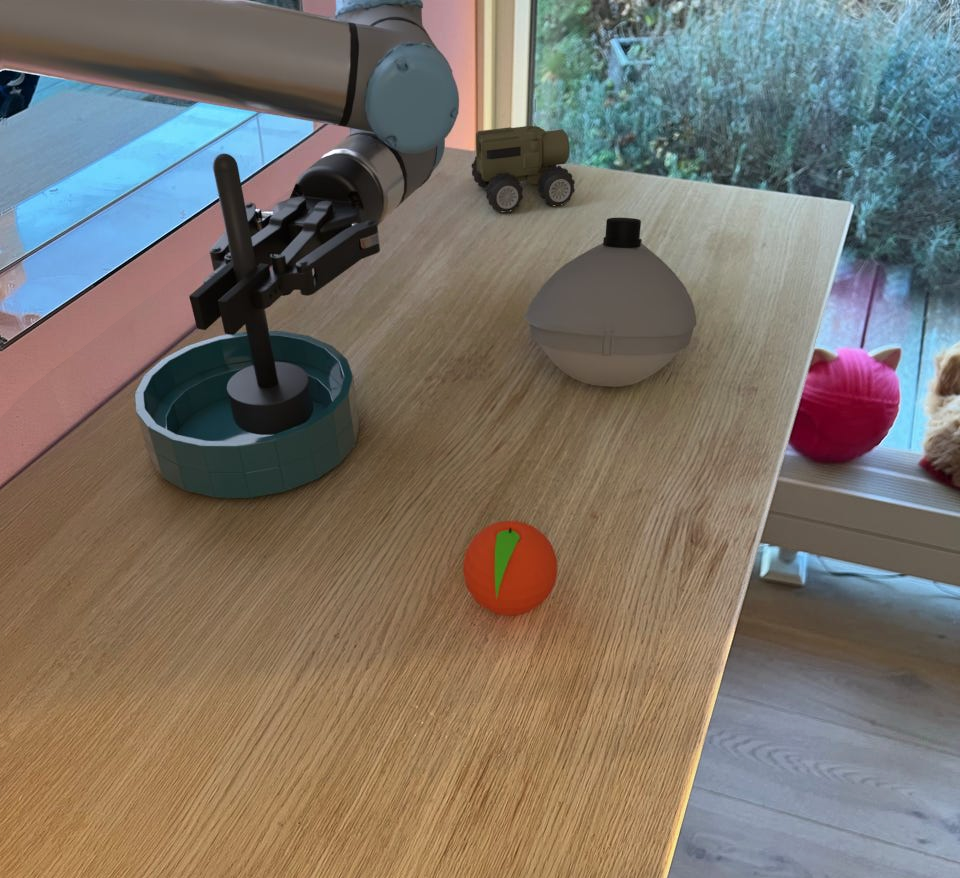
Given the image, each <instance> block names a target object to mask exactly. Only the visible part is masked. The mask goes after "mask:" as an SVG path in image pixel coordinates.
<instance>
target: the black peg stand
mask: <svg viewBox="0 0 960 878" xmlns="http://www.w3.org/2000/svg"><path fill="white" fill-rule="evenodd" d="M212 170H213V175H214V180H215V186H216V189H217V194H218V199H219V204H220V210H221V214H222V220H223V224H224V229H225V232H226V234H227V239H228V244H229V249H230V254H231V259H232V264H233V268H234V273H235V278H236V283H239V282H240V281H241V280H242V279H243V278H244V277H245V276H247V275H248V274H249V273H250V272H251V271H252V270H254V269H255V268H256V267H257V266H256V260H255V255H254V250H253V244H252V239H251V234H250V229H249V223H248V218H247V213H246V207H245V204H246V203H245V202H246V201H245V197H244V193H243V186H242V181H241V176H240V170H239V166H238V163H237V160H236V158H234V157H233V156H232V155H231V154H228V153H224V152H223V153H220V154H217V156H215V157H214V159H213V161H212ZM244 327H245V332H247V337H248V341H249V346H250V351H251V356H252V361H253V365H252V366H249V367H246V368H244V369H242V370H240V371H239V372H237V373H236V374H235V375H233V376H232V377H231V379H230V380H229V382H228V384H227V392H228V397H229V401H230V405H231V410H232V414H233V418H234V421H235V423H236V425H237V426H238V427H239V428H241V429H242V430H244V431H246V432H249V433H253V434H258V435H274V434H277V433H280V432H282V431H285V430H288V429H291V428H293V427H296V426H299V425H302V424H303V423H305V422H307V421H308V420H309V418H310V417H311V415H312V413H313V402H312V396H311V390H310V383H309V378H308V375H307V373H306V372H305V371H304V370H303V369H302V368H300V367H299V366H296V365H294V364H290V363H285V362H275V361H274V356H273V351H272V345H271V340H270V335H269V331H270V329H269V325H268V319H267V315H266V309H261V310H260V311H259V312H258V313H257V314H256V315H254V316H253V317H252V318H251V319H250V320H249V321H248V322H247V323H246V324H245V325H244Z"/></svg>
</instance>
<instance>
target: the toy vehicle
mask: <svg viewBox="0 0 960 878" xmlns="http://www.w3.org/2000/svg"><path fill="white" fill-rule="evenodd" d="M536 105H537V104H536V98H535V99H534V111H537V110H536ZM570 148H571V145H570V140H569V136H568V133H566V131H565V130H564V129H555V130H545V129H544V128H541V127H540V126H537V125H526V126H525V125H524V126H515V127H511V126H509V127H501V128H500V127H499V128H493V129H485V130H484V129H483V130H477V131H476V133H475V149H476V150H475V153H476V154H475V155H476V156H475V157H474V160H473V162H472V163H471V169H472V170H471V177H473V180H474V182H475V183H477V186H479V187H480V188H484V189H485V188H486V189H485V191H486V195H485V197H486V200H488V204H489V205H490V206H491V207H492V209H493V210H494V211H498V212H500V211H510V210H512V211H513V210H515V209H516V208H518V207H519V206H520V203H521V201H522V200H523V198H524V196H523V191H524V188H523V186H521V182H527V184H529V185H538V188H537V190H538V193H539V194H540V198H541V200H544V203H545V204H548V203H549V204H548V205H557V206H560V205H561V204H563V205H564V204H566V203H567V202H569V201H570V200H571V199H572V196H573V194H574V193H575V184H576V181H575V179H573V175H572V173H571V172H569V170H568V169H567V168H563V167H562V166H561V165H566V164H567V161H568V160H569V158H570V154H571V153H570V152H571V150H570ZM481 186H482V187H481Z"/></svg>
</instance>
